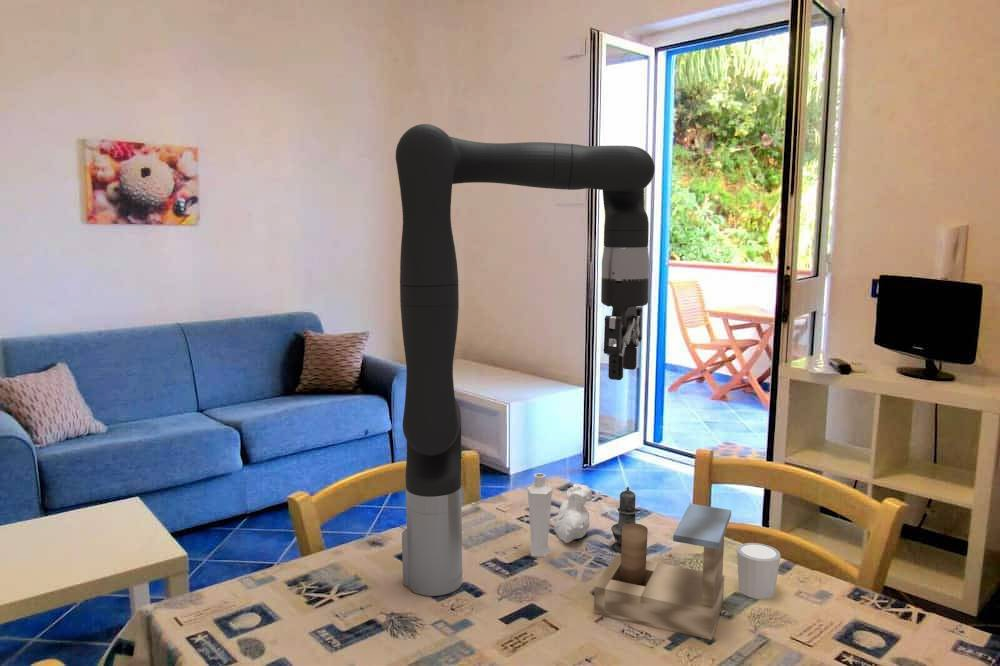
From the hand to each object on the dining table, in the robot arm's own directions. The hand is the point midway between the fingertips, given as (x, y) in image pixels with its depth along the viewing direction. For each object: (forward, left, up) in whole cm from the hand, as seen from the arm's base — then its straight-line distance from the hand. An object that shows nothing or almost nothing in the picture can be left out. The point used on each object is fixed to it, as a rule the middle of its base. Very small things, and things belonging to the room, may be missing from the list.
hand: (622, 374), depth 121 cm
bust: (-13, +14, -36) cm, 41 cm away
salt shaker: (-2, +13, -36) cm, 39 cm away
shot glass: (+22, +6, -36) cm, 43 cm away
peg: (+4, -6, -36) cm, 36 cm away
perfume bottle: (-16, +4, -36) cm, 40 cm away
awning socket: (+8, -6, -36) cm, 38 cm away
